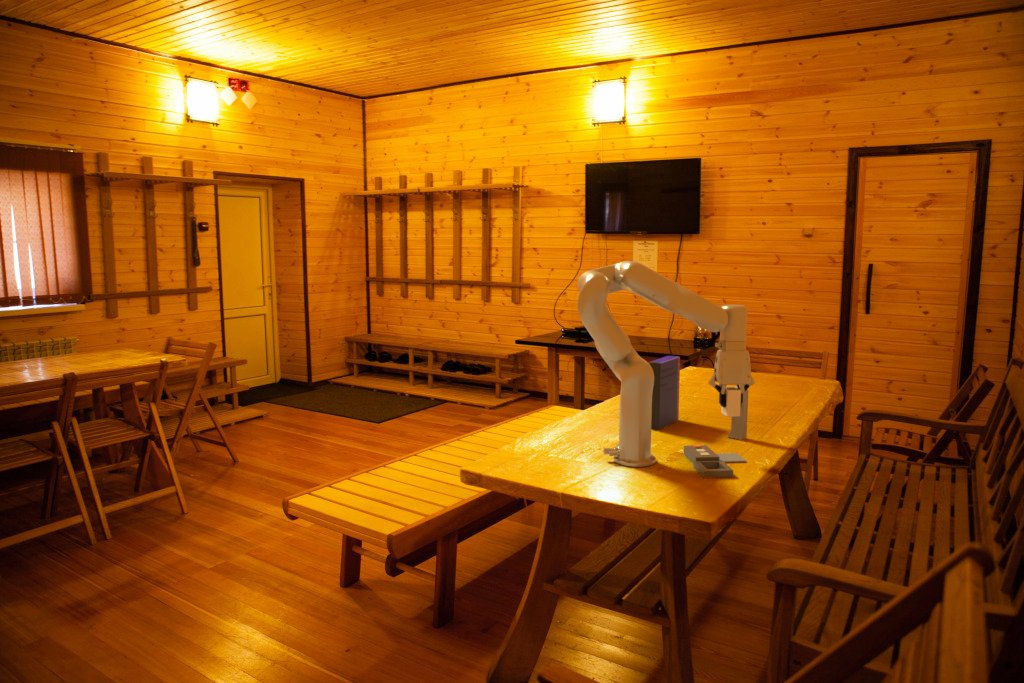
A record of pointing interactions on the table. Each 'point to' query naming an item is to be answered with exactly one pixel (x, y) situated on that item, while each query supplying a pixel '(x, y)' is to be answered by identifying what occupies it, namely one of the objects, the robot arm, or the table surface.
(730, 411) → the plug
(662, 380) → the cereal box
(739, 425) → the vintage mobile phone
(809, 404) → the table surface
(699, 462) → the charging dock
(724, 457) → the rubber mat
